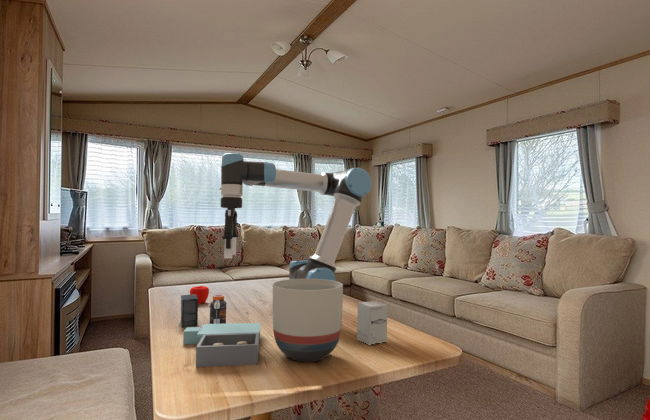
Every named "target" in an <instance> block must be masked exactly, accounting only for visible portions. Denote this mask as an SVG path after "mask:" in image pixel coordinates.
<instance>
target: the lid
mask: <svg viewBox="0 0 650 420" xmlns="http://www.w3.org/2000/svg"><path fill="white" fill-rule="evenodd" d="M243 333H259V343H260V341H261V322H242V323H241V322H237V323H236V322H235V323H234V322H233V323H231V322H230V323H226V324H210V323H204V324H203V325H202V326H195V327H185V329H184V330H183V335H182V336H183V338H182V341H183V342H182V344H183V345H198V343H199V341H200V340H201V338H202V336H203V335H209V334H243Z"/></svg>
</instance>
